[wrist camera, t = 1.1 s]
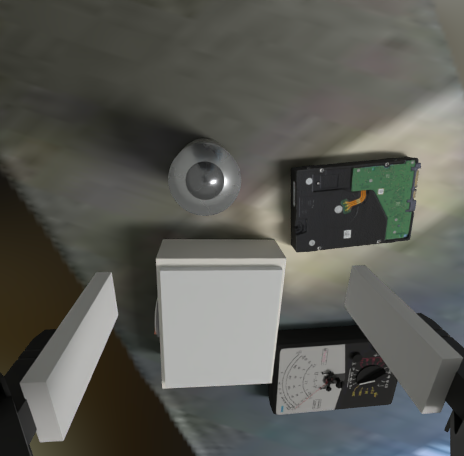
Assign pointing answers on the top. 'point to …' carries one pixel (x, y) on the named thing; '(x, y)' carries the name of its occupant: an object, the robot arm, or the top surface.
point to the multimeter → (328, 371)
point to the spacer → (204, 178)
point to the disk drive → (352, 203)
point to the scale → (218, 310)
